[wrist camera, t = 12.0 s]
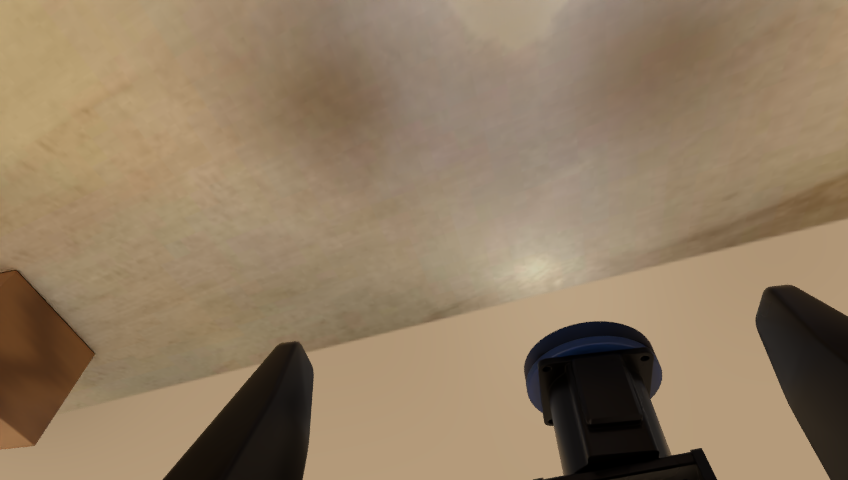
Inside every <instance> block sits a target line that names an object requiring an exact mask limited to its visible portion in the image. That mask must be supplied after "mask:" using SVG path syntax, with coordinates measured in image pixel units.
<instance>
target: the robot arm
mask: <svg viewBox="0 0 848 480" xmlns="http://www.w3.org/2000/svg"><path fill="white" fill-rule="evenodd" d="M756 327H757V330H758V333H759V335H760V337H761V340H762V342H763V345H764V347H765V349H766V352H767V354H768V356H769V359H770V361H771V364H772V366H773V369H774V371H775V373H776V376H777V378H778V381H779V383H780V385H781V388H782V390H783V393H784V395H785V397H786V399H787V401H788V404H789V406H790V407H791V409H792V411H793V413H794V415H795V417H796V418H797V421H798V422H799V424H800V426H801V428H802V429H803V431H804V433H805V435H806V437H807V438H808V440H809V442H810V444H811V446H812V447H813V449H814V451H815V453H816V454H817V456H818V458H819V460H820V462H821V463H822V465H823V467H824V469H825V471H826V472H827V474H828V476H829V478H830V480H848V316H846V315H844V314H843V313H841V312H839V311H837V310H835V309H834V308H832V307H830V306H828V305H827V304H825V303H823V302H822V301H820V300H818V299H816V298H814V297H813V296H811V295H809V294H807V293H806V292H804V291H802V290H800V289H799V288H797V287H795V286H792V285H781V286H772V287H768V288H766V289H765V290H764V292H763V295H762V298H761V301H760V305H759V308H758V311H757V315H756ZM653 363H654V355H653V353H652V350H651V349H650V348H647V347H641V348H632V349H623V350H615V351H606V352H597V353H589V354H580V355H571V356H563V357H554V358H545V359H542V360H540V361H539V362H538V364H537V366H538V374H539V383H540V392H541V401H542V410H543V418H544V423H545V424H546V425H549V426H554V429H555V433H556V439H557V444H558V449H559V454H560V459H561V464H562V469H563V474H564V476H559V477H554V478H548V479H543V478H538V479H533V480H717V479H716V477H715V475H714V472H713V470H712V468H711V466H710V464H709V462H708V460H707V458H706V456H705V454H704V452H703V450H702V448H699V449H694V450H690V451H691V452H688V453H683V454H678V455H671V453H670V450H669V447H668V445H667V443H666V439H665V437H664V434H663V431H662V429H661V426H660V424H659V421H658V418H657V416H656V413H655V411H654V408H653V405H652V402H651V400H650V391H651V381H652V372H653ZM313 376H314V374H313V367H312V365H311V363H310V361H309V359H308V357H307V355H306V353H305V351H304V349H303V347H302V345H301V344H300V343H299V342H296V341H294V342H286V343H281V344H279V345H277V346H276V347H275V349H274V350H273V351H272V352H271V353H270V354H269V356H268V357H267V358H266V359H265V360H264V362H263V363H262V364H261V365H260V366H259V367H258V369H257V370H256V371H255V372H254V373H253V374H252V376H251V377H250V378H249V379H248V380H247V381H246V383H245V384H244V385H243V386H242V387H241V388H240V390H239V391H238V392H237V393H236V394H235V396H234V397H233V398H232V399H231V400H230V401H229V403H228V404H227V405H226V406H225V407H224V408H223V410H222V411H221V412H220V413H219V414H218V416H217V417H216V418H215V419H214V420H213V421H212V422H211V424H210V425H209V426H208V427H207V428H206V430H205V431H204V432H203V433H202V434H201V435H200V437H199V438H198V439H197V440H196V441H195V443H194V444H193V445H192V446H191V447H190V448H189V449H188V451H187V452H186V453H185V454H184V455H183V456H182V458H181V459H180V460H179V461H178V462H177V463H176V465H175V466H174V467H173V468H172V469H171V471H170V472H169V473H168V474H167V475H166V476H165V478H164V479H163V480H302V479H303V474H304V469H305V463H306V458H307V452H308V445H309V434H310V419H311V406H312V392H313V378H314V377H313Z"/></svg>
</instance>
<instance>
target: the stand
mask: <svg viewBox="0 0 848 480" xmlns="http://www.w3.org/2000/svg"><path fill="white" fill-rule="evenodd" d="M93 356H94V353H93V352H92V351H91V350H90V349H89V348H88V347H87V345H86V344H85V343H84V342H83V341H82V340H81V339H80V338H79V337H78V336H77V335H76V334H75V333H74V332H73V331H72V329H71V328H70V327H69V326H68V325H67V324H66V323H65V322H64V321H63V320H62V319H61V318H60V317H59V316H58V315H57V313H56V312H55V311H54V310H53V309H52V308H51V307H50V306H49V305H48V304H47V303H46V302H45V301H44V300H43V299H42V297H41V296H40V295H39V294H38V293H37V292H36V291H35V290H34V289H33V288H32V287H31V286H30V285H29V284H28V283H27V281H26V280H25V279H24V278H23V277H22V276H21V275H20V274H19V273H18V272H17V271H11V272H5V273H0V450H1V449H10V448H19V447H28V446H35V445H36V443H37V442H38V440H39V438H40V437H41V435H42V434H43V432H44V431H45V429H46V428H47V426H48V425H49V423H50V422H51V420H52V419H53V417H54V416H55V414H56V413H57V411H58V410H59V408H60V407H61V405H62V404H63V402H64V400H65V399H66V397H67V396H68V394H69V393H70V391H71V390H72V388H73V387H74V385H75V384H76V382H77V381H78V379H79V378H80V376H81V375H82V373H83V371H84V370H85V368H86V367H87V365H88V364H89V362H90V361H91V359H92V358H93Z"/></svg>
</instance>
